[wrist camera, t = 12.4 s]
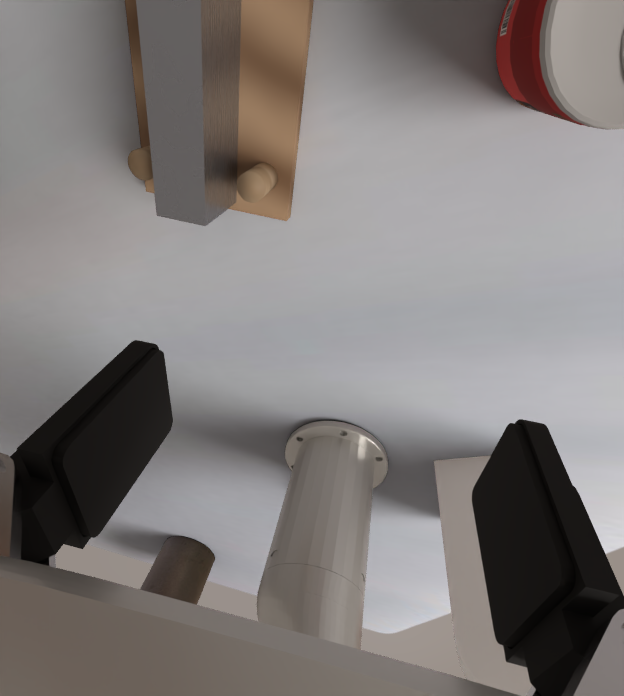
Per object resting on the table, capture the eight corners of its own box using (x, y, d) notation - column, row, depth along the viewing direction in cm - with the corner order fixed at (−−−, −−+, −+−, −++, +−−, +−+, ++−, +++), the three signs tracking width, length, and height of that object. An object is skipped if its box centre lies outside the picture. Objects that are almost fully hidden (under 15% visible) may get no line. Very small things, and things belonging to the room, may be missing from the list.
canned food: (507, 132, 26) (558, 163, 17) (478, -11, 22) (526, -63, 14) (646, 70, 23) (795, 70, 14) (639, -106, 19) (833, -252, 11)
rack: (290, 216, 32) (275, 235, 28) (153, 187, 33) (121, 202, 29) (331, -165, 20) (314, -219, 17) (115, -194, 21) (53, -251, 17)
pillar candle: (216, 546, 68) (175, 647, 56) (213, 570, 74) (175, 666, 62) (164, 529, 69) (112, 625, 56) (165, 554, 74) (117, 646, 62)
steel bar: (181, -155, 21) (114, -223, 16) (245, -146, 20) (195, -213, 16) (194, 193, 31) (156, 215, 27) (236, 202, 31) (205, 226, 26)
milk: (552, 517, 47) (668, 870, 26) (452, 520, 51) (485, 828, 30) (544, 450, 41) (686, 835, 20) (433, 460, 45) (457, 789, 25)
